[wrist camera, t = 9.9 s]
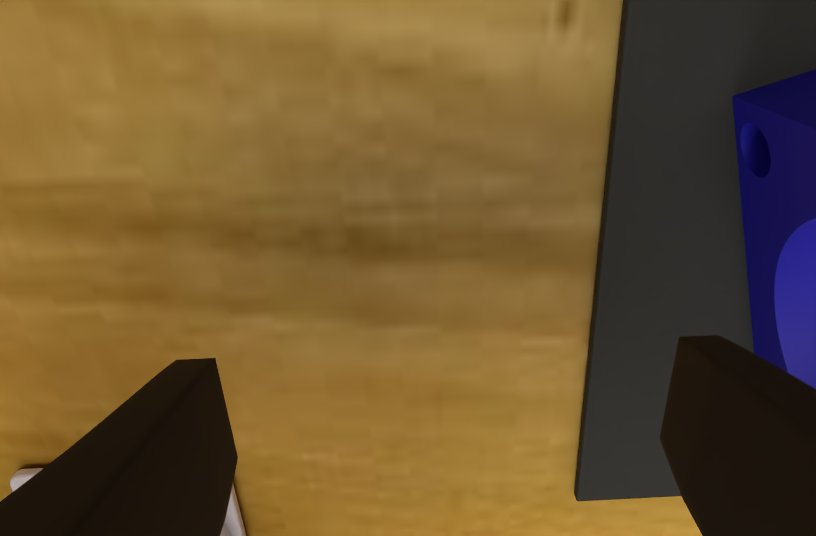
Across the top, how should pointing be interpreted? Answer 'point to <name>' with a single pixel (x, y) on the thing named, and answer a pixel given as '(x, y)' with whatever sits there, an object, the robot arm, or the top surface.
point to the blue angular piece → (780, 219)
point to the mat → (673, 217)
